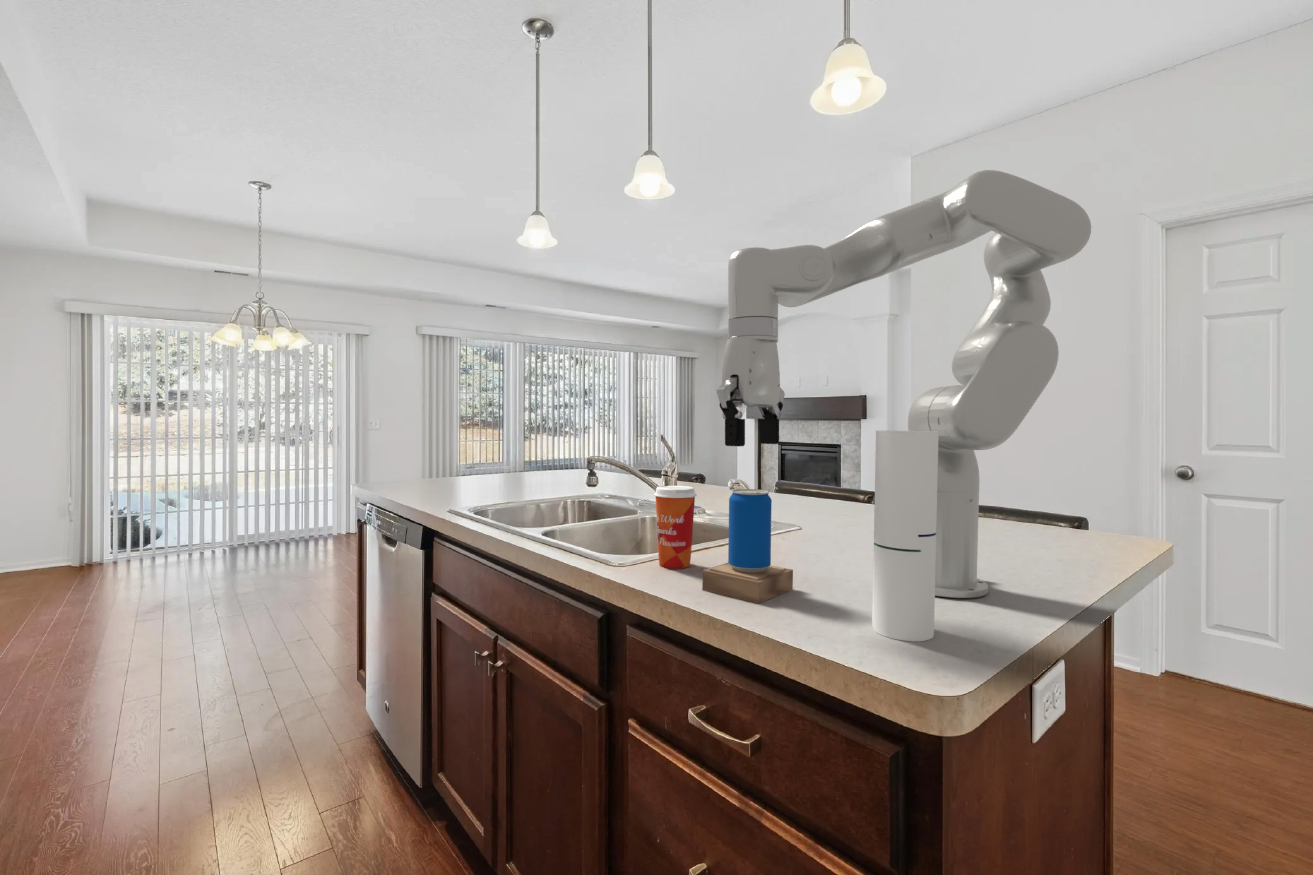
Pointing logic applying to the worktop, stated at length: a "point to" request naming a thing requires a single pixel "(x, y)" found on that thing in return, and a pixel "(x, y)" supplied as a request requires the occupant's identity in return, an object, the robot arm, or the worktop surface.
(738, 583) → the plinth
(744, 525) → the beverage can
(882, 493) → the cylindrical container
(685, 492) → the paper cup
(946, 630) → the worktop surface
